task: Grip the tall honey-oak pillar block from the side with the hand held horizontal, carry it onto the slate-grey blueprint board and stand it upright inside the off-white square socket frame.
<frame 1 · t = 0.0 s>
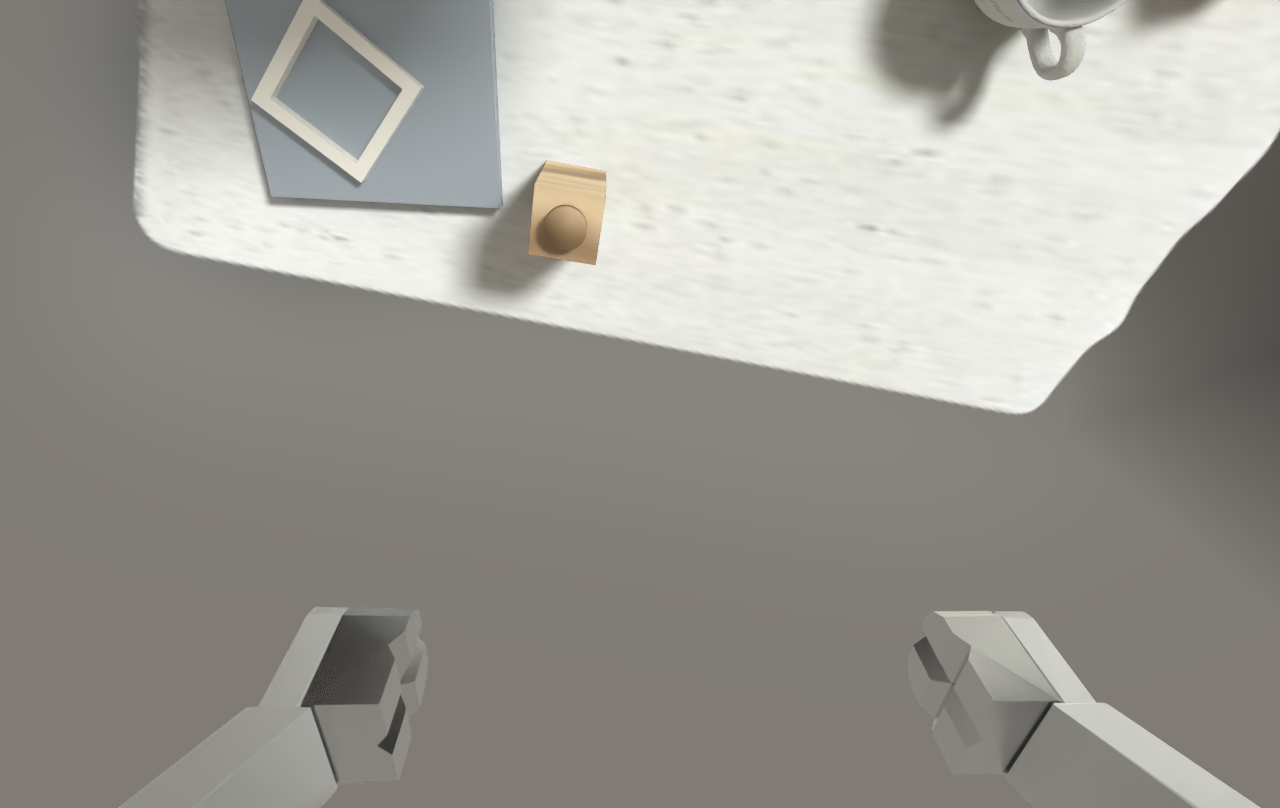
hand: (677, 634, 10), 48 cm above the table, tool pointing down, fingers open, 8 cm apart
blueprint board: (376, 79, 47), on the table
socket frame: (348, 91, 48), resting on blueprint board
oak pillar: (572, 196, 53), on the table
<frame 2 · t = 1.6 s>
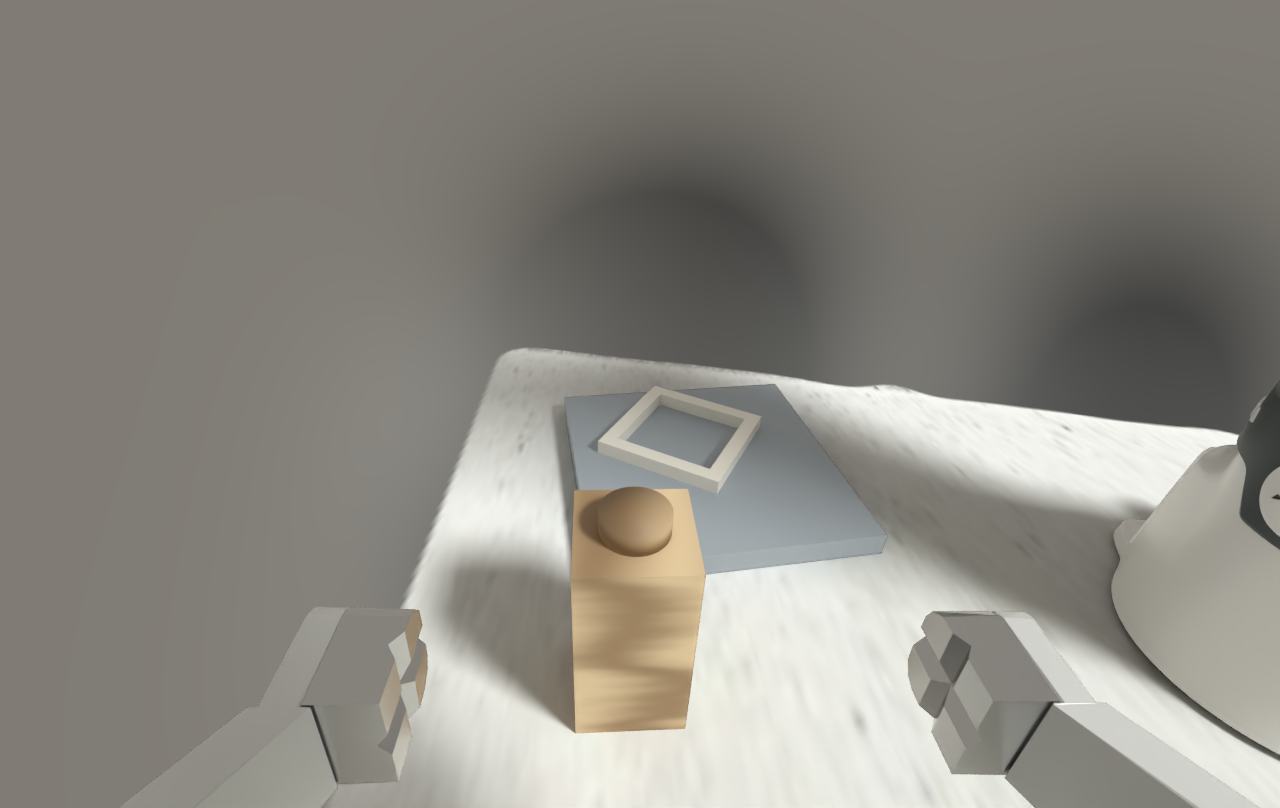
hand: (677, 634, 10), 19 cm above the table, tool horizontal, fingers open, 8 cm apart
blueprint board: (701, 473, 44), on the table
socket frame: (680, 455, 46), resting on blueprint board
oak pillar: (628, 680, 30), on the table
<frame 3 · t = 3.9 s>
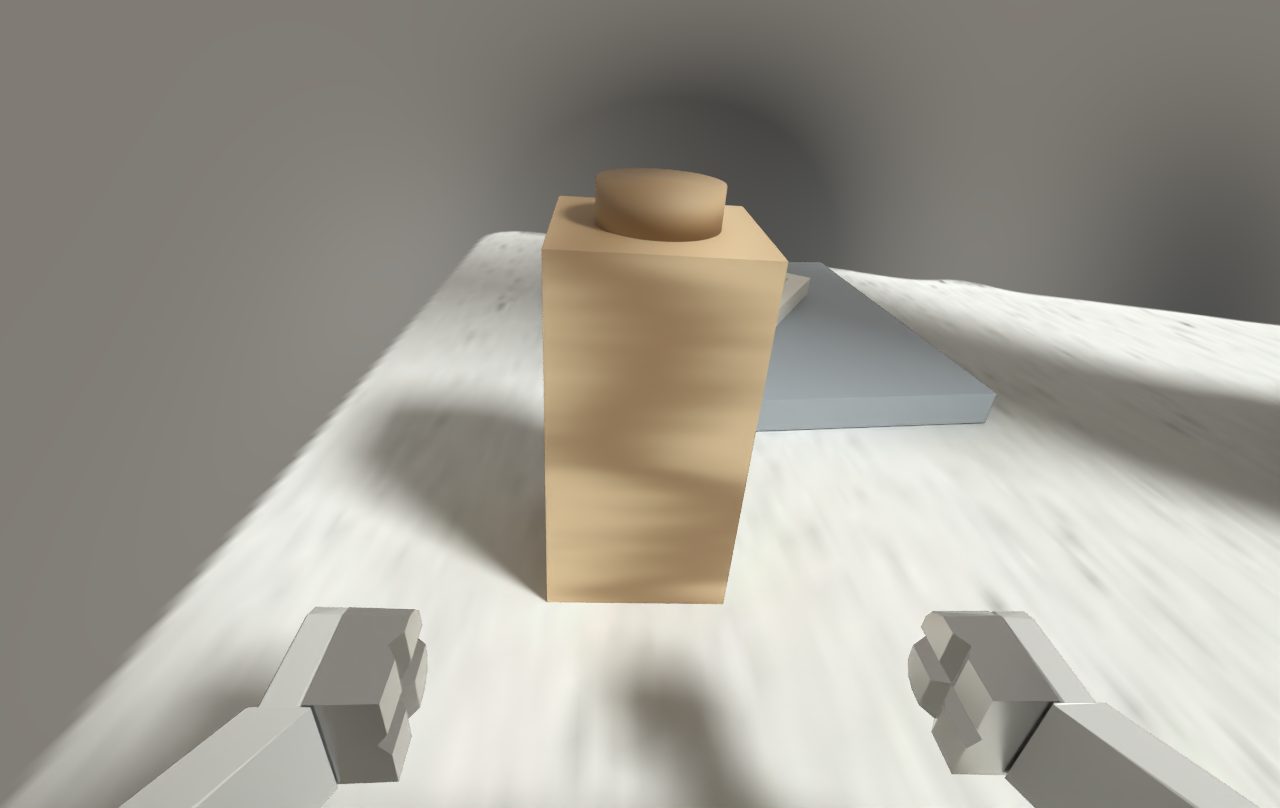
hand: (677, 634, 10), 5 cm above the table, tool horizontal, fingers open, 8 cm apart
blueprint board: (733, 338, 34), on the table
socket frame: (705, 323, 36), resting on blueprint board
oak pillar: (633, 541, 19), on the table
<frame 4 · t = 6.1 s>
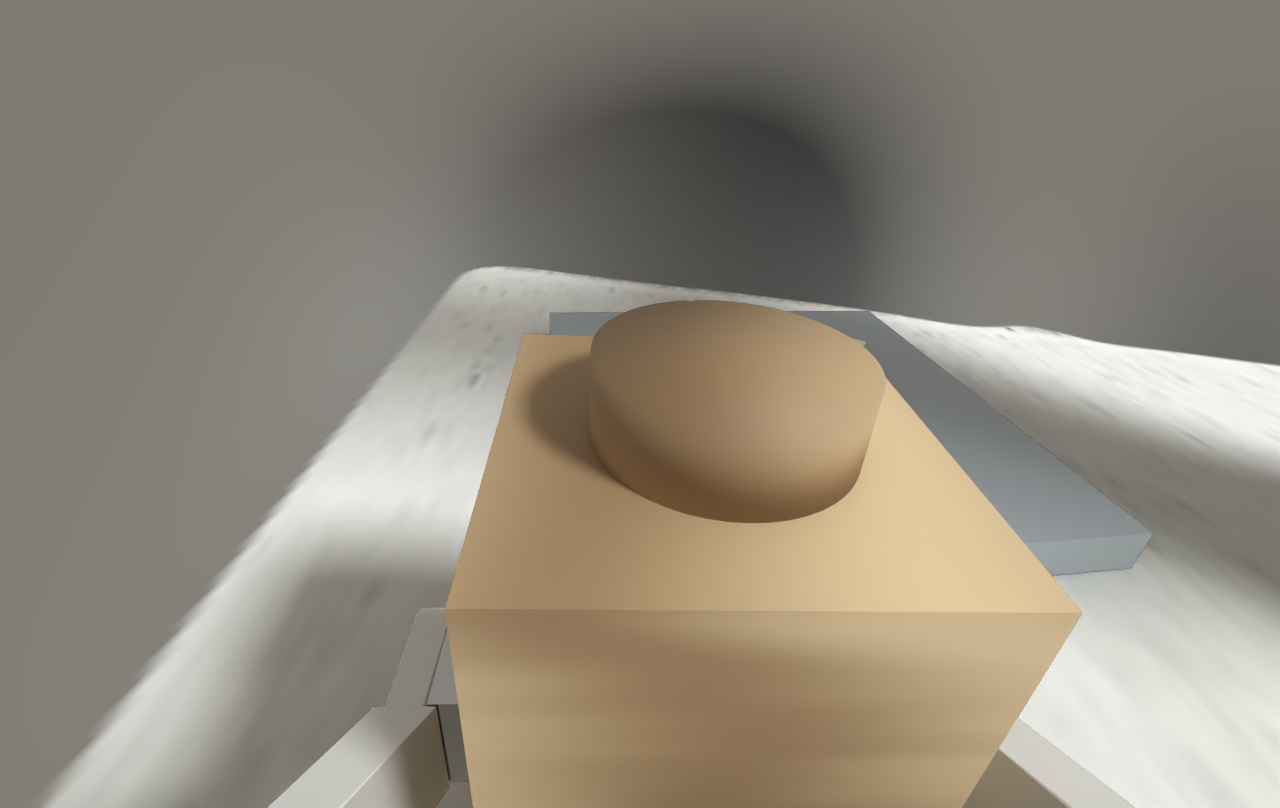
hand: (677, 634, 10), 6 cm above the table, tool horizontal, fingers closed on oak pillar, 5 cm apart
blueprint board: (771, 426, 26), on the table
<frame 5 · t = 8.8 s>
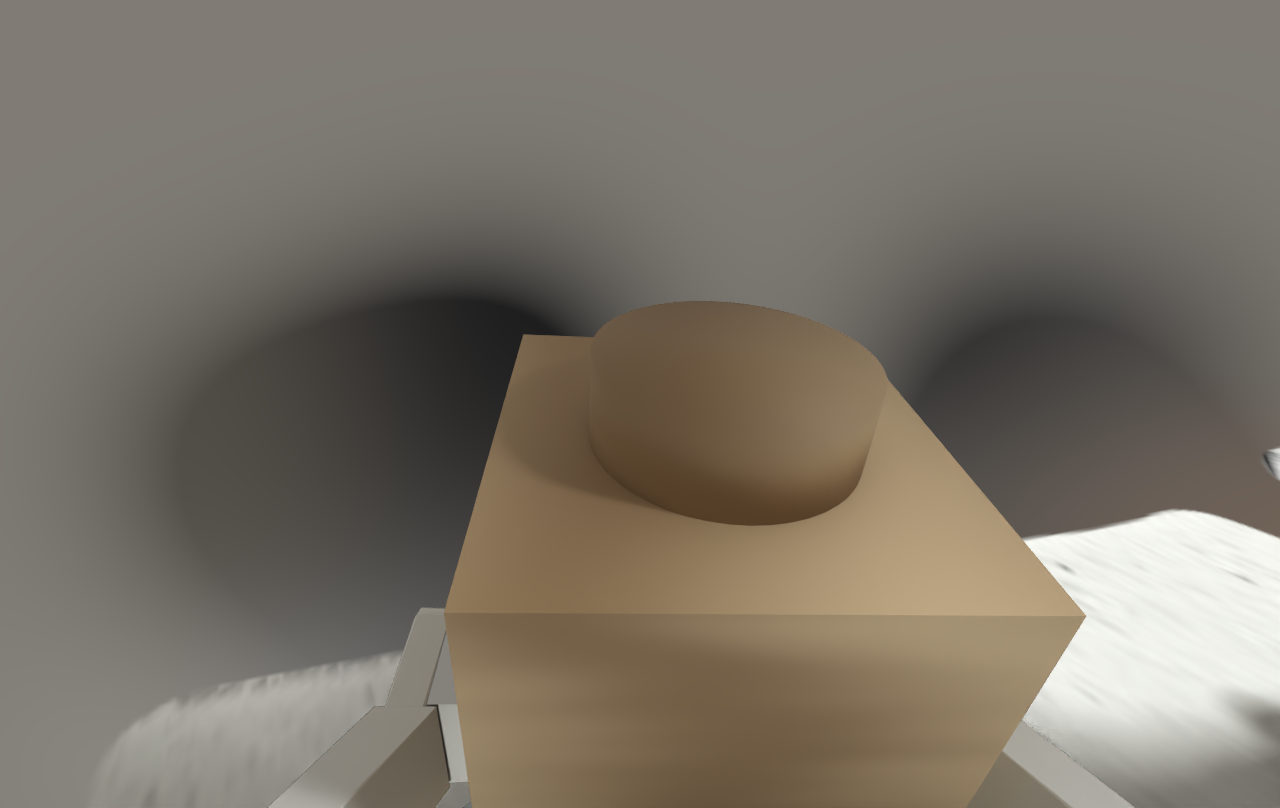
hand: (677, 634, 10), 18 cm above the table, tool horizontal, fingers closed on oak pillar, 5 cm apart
when the fingers open (8 cm above the table, at t = 11.8 s): oak pillar stays where it is, resting on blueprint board.
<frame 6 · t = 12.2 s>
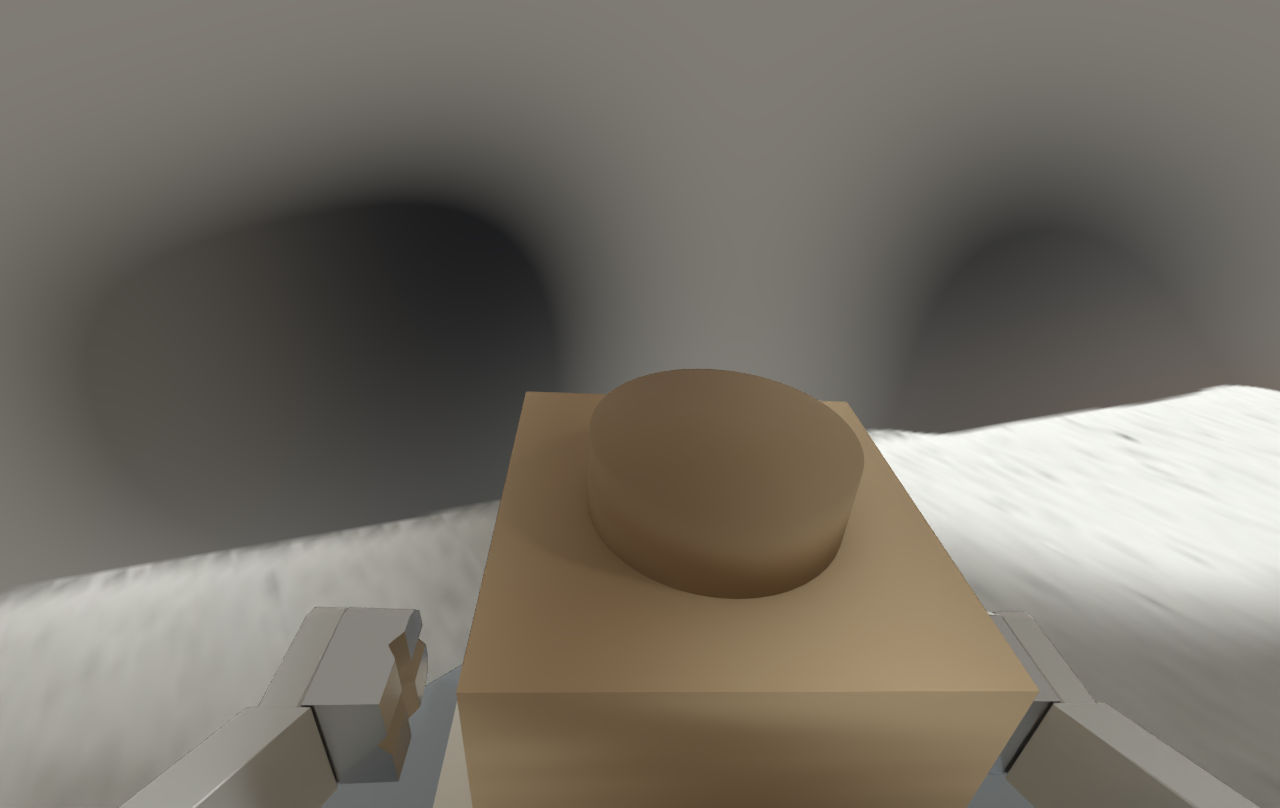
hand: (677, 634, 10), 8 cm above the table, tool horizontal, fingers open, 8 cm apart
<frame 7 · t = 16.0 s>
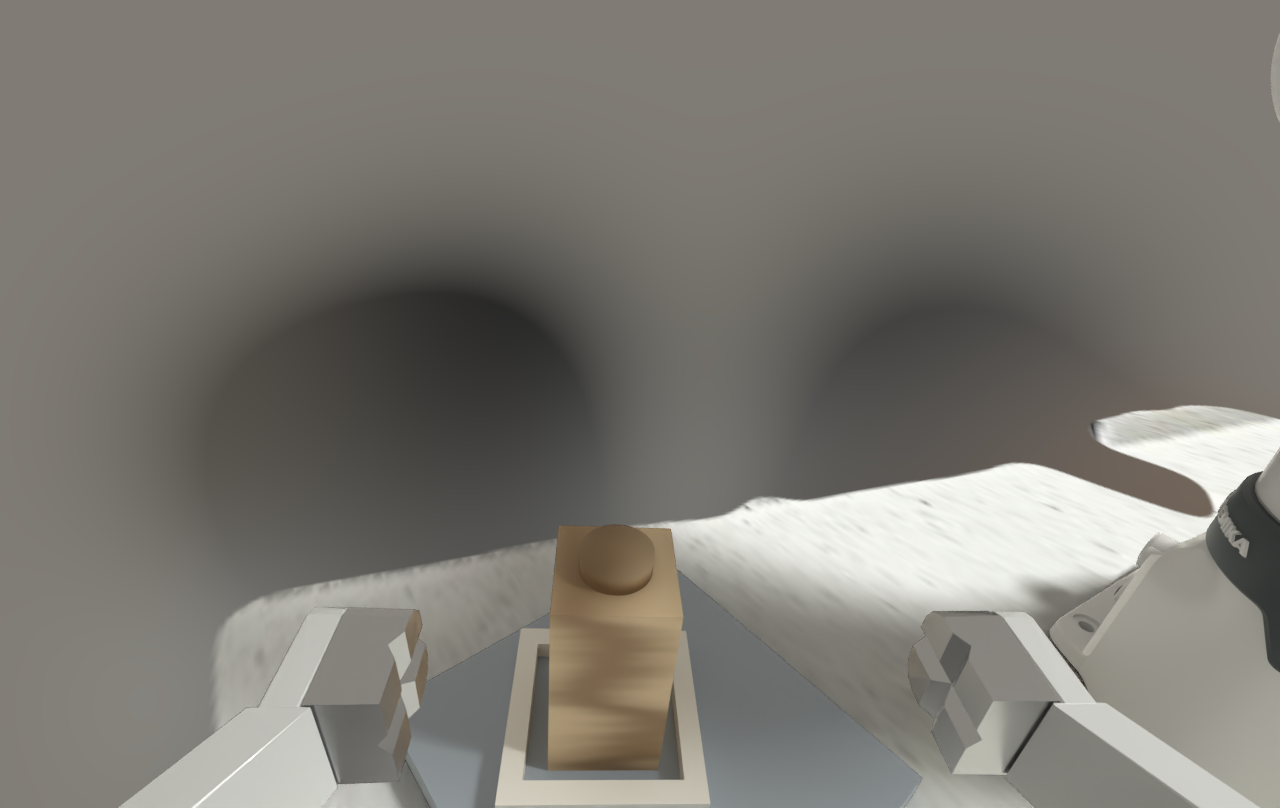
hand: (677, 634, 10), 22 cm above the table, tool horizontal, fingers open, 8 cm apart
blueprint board: (646, 759, 30), on the table
socket frame: (601, 736, 31), resting on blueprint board
oak pillar: (603, 718, 30), point 1 cm above the table, touching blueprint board
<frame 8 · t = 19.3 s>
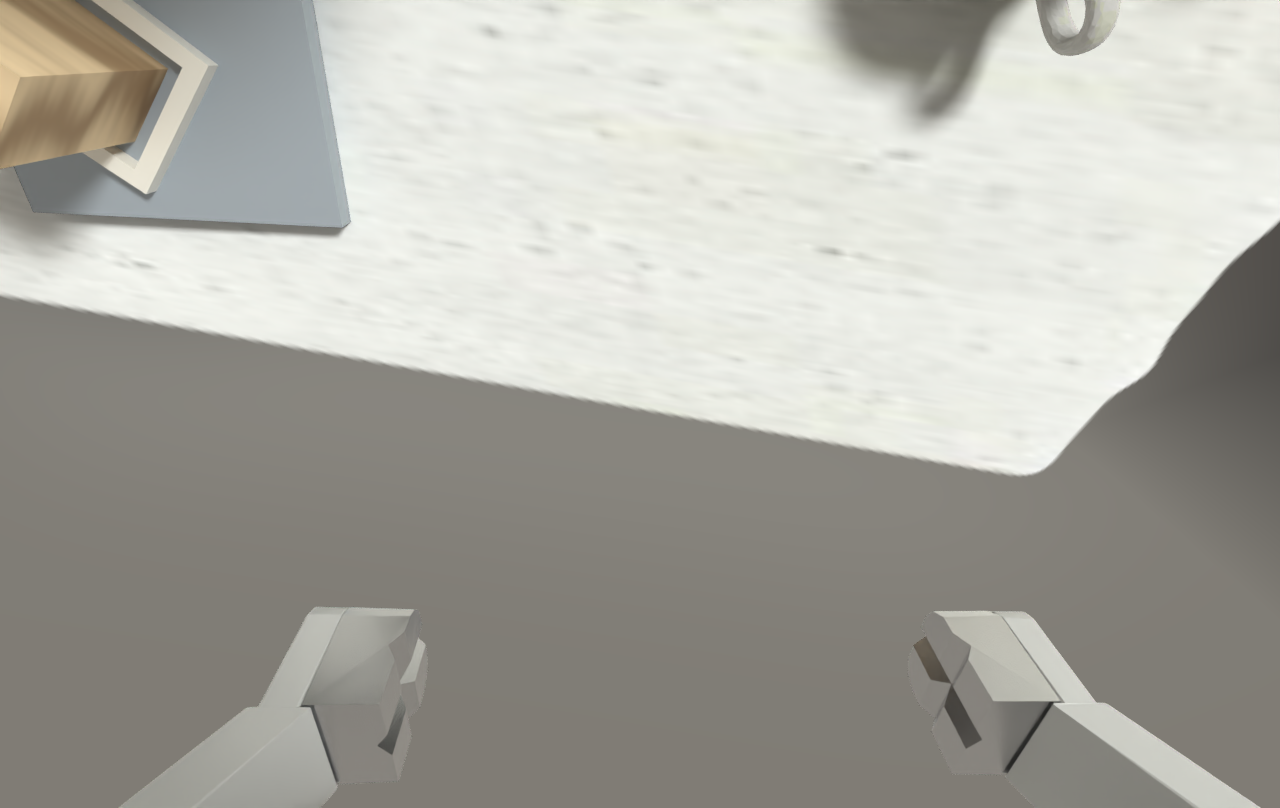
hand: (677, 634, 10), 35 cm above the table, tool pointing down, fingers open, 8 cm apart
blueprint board: (157, 55, 35), on the table
socket frame: (122, 72, 36), resting on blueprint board
oak pillar: (104, 73, 34), point 1 cm above the table, touching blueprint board
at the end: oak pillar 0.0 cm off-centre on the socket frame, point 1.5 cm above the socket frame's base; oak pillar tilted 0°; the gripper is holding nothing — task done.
